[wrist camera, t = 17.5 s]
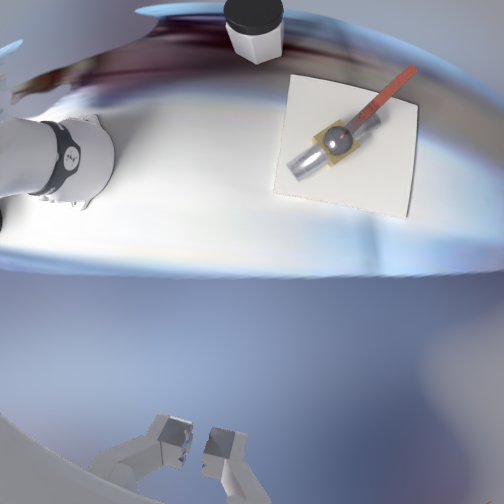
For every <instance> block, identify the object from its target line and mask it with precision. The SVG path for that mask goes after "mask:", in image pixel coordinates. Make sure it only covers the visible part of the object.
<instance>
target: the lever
mask: <svg viewBox="0 0 504 504" xmlns="http://www.w3.org/2000/svg"><path fill="white" fill-rule="evenodd" d="M417 71H418V70H417V69H416V68H415V67H414V66H413V65H412V64H411V65H410V66H409V67H408V68H406V69H405V70H404V71H403V72H402V73H401V74H400V75H399V76H398V77H397V78H396V79H395V80H393V81H392V82H391V83H390V84H389V85H388V86H386V87H385V88H384V89H383V90H382V91H381V92H380V93H379V94H378V95H377V96H376V97H375V98H374V99H373V100H372V101H370V102H369V103H368V104H367V105H366V106H365V107H364V108H363V109H362V110H361V111H360V112H359V113H358V114H357V115H356V116H355V117H354V118H353V119H352V120H351V121H350V122H348V123H347V124H346V125H345V126H344V127H342V126H334V127H331V128H330V129H329V130H328V131H327V132H326V134H325V136H324V144H325V146H326V148H327V149H328V150H329V151H330V152H331V153H333V154H337V155H341V154H344V153H346V152H348V151H349V150H350V149H351V147H352V145H353V137H352V135H353V134H354V133H355V132H356V131H357V130H358V129H359V128H360V127H361V126H362V125H363V124H364V123H365V122H366V121H367V120H368V119H369V118H370V117H371V116H372V115H373V114H374V113H375V112H376V111H377V110H378V109H379V108H380V107H381V106H382V105H383V104H385V103H386V102H387V101H388V100H389V99H390V98H391V97H392V96H393V95H394V94H395V93H396V92H397V91H398V90H399V89H400V88H401V86H402V85H403V84H405V83H406V82H407V81H408V80H409V79H410V78H411V77H412V76H413V75H414V74H415V73H416V72H417Z"/></svg>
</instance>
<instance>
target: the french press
mask: <svg viewBox="0 0 504 504" xmlns="http://www.w3.org/2000/svg"><path fill="white" fill-rule="evenodd" d="M1 226H2V215H1V210H0V231H1Z"/></svg>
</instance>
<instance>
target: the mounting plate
mask: <svg viewBox="0 0 504 504" xmlns="http://www.w3.org/2000/svg"><path fill="white" fill-rule="evenodd" d="M378 94H379V93H376V92H373V91H369V90H365V89H361V88H358V87H354V86H349V85H345V84H341V83H336V82H332V81H327V80H322V79H316V78H311V77H305V76H299V75H292V74H291V79H290V86H289V93H288V99H287V106H286V113H285V120H284V126H283V133H282V140H281V146H280V153H279V159H278V166H277V172H276V178H275V185H274V191H273V193H277V194H283V195H289V196H294V197H300V198H306V199H311V200H317V201H322V202H327V203H332V204H337V205H342V206H347V207H352V208H357V209H361V210H366V211H371V212H375V213H380V214H384V215H388V216H393V217H397V218H401V219H405V220H406V214H407V208H408V202H409V196H410V189H411V181H412V173H413V165H414V155H415V144H416V130H417V109H418V106H417V105H414V104H411V103H408V102H405V101H402V100H399V99H396V98H393V97H391V98H390V99H389V100H388V101H387V102H386V103H385V104H383V105H382V106H381V107H380V108H379V109H378V110H377V111H376V112H375V113H376V114H377V115H378V117H379V118H380V121H381V126H380V127H378V128H377V129H375V130H374V131H372V132H371V133H369V134H368V135H366V136H365V137H363V138H362V139H360V140H359V141H357V142H358V144H359V145H360V148H358V149H357V150H355V151H354V152H352V153H351V154H349V155H348V156H346V157H345V158H344V159H342V160H341V161H339V162H338V163H336V164H335V165H333V166H332V167H330V166H329V165H328V164H327V163H325V164H324V165H322V166H321V167H319V168H318V169H316V170H315V171H314V172H312V173H311V174H309V175H308V176H306V177H305V178H304V179H302V180H301V181H299V182H298V181H297V180H296V179H295V177H294V176H293V175H292V173H291V172H290V171H289V169H288V168H287V166H286V164H287V163H288V162H290V161H291V160H293V159H294V158H295V157H297V156H298V155H300V154H301V153H303V152H304V151H306V150H307V149H308V148H310V147H311V146H313V143H312V142H311V140H312V138H313V136H315V135H316V134H318V133H319V132H321V131H322V130H324V129H325V128H327V127H328V126H330V125H331V124H333V123H334V122H336V121H338V120H339V119H341V121H342V122H343V123H344V124H346V123H348V122H349V121H351V120H352V119H353V118H354V117H355V116H356V115H357V114H358V113H359V112H360V111H361V110H362V109H363V108H364V107H365V106H366V105H367V104H368V103H369V102H370V101H372V100H373V99H374V98H375V97H376V96H377V95H378Z"/></svg>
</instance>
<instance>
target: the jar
mask: <svg viewBox="0 0 504 504" xmlns="http://www.w3.org/2000/svg"><path fill="white" fill-rule="evenodd" d="M224 15H225V18H226V21H227V23H226V29H227V31H228V34H229V37H230V39H231V42H232V45H233V47H234V50H235V53H237V54H238V55H240V56H242V57H244V58H246V59H247V60H249V61H251V62H253V63H255V64H260V63H263V62H265V61H268V60H271V59H274V58H277V57H280V56H282V49H283V41H284V10H283V5H282V2H281V0H227V1H226V3H225V5H224Z"/></svg>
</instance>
